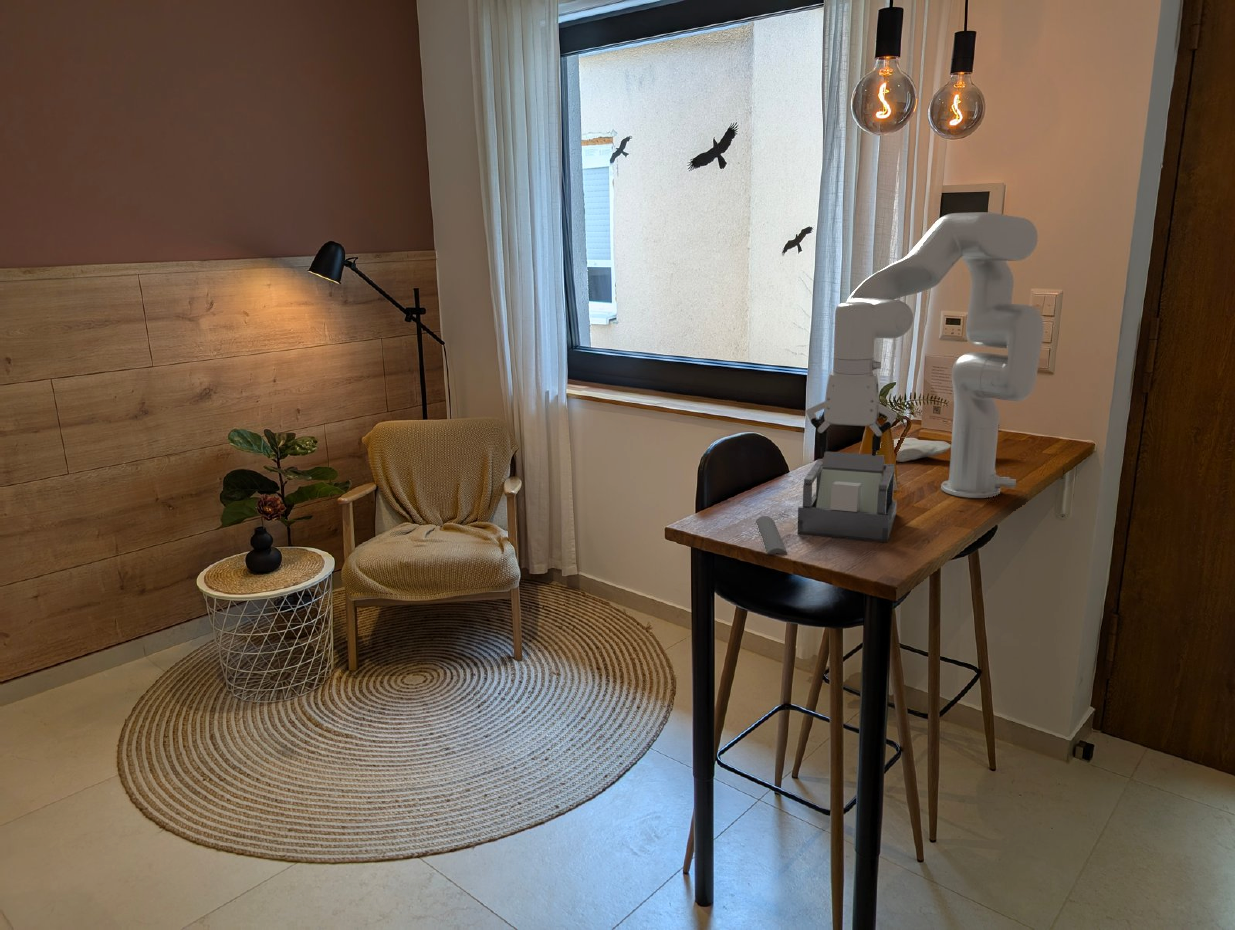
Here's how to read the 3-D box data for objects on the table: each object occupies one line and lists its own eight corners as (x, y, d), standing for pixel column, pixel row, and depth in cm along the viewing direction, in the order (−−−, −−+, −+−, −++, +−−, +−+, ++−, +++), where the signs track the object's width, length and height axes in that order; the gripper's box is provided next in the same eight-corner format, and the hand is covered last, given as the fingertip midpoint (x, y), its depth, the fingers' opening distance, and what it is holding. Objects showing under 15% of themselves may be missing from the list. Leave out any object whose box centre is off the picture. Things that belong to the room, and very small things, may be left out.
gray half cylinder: (766, 557, 167) (766, 548, 166) (754, 524, 186) (754, 516, 185) (788, 557, 167) (789, 548, 166) (774, 523, 186) (774, 515, 185)
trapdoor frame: (896, 513, 188) (898, 463, 186) (887, 542, 171) (890, 488, 169) (813, 506, 195) (815, 458, 192) (797, 533, 178) (798, 480, 175)
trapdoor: (884, 460, 183) (884, 455, 181) (877, 518, 178) (877, 513, 176) (825, 456, 188) (824, 451, 186) (817, 513, 182) (816, 508, 180)
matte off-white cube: (861, 483, 177) (858, 486, 172) (860, 508, 178) (856, 511, 172) (836, 481, 179) (831, 484, 173) (834, 505, 180) (830, 509, 174)
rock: (923, 472, 221) (957, 456, 229) (922, 455, 220) (956, 439, 228) (853, 463, 238) (887, 448, 246) (852, 446, 236) (886, 432, 245)
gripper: (901, 365, 172) (896, 451, 176) (811, 362, 178) (808, 445, 183) (897, 371, 165) (892, 460, 170) (804, 368, 172) (802, 454, 176)
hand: (849, 452), depth 176 cm, fingers open, 9 cm apart
